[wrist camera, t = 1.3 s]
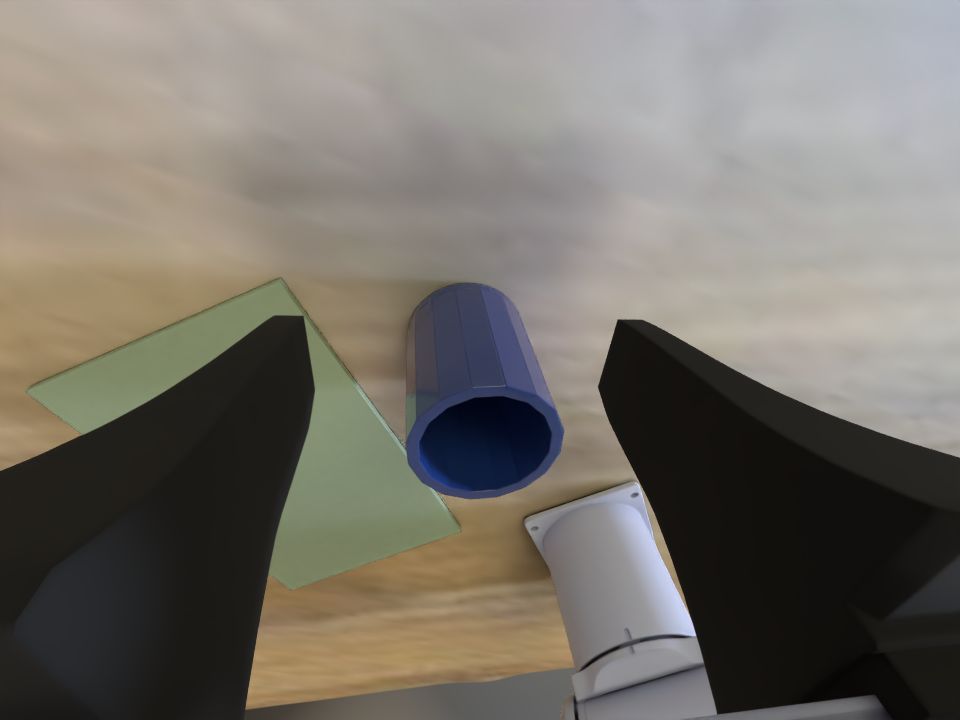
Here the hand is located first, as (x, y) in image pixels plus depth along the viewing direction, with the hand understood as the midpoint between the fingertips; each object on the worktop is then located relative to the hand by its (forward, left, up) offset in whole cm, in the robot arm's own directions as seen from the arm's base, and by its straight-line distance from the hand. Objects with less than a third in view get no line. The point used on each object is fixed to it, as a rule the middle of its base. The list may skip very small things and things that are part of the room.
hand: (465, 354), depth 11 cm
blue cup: (-6, +1, -10) cm, 11 cm away
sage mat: (-10, +14, -10) cm, 19 cm away
